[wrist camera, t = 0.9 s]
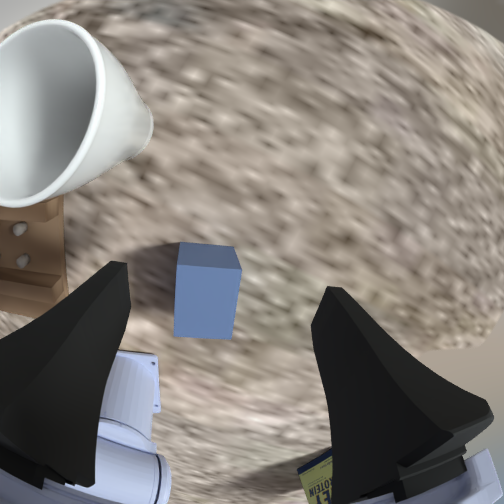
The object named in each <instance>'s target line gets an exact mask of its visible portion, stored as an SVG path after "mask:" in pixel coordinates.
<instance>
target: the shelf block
mask: <svg viewBox="0 0 504 504" xmlns="http://www.w3.org/2000/svg"><path fill="white" fill-rule="evenodd" d="M241 273H242V268H241V266H240V263H239V260H238V258H237V255H236V252H235V250H234V247H231V246H220V245H209V244H198V243H187V242H180V247H179V254H178V261H177V272H176V289H175V311H174V336H177V337H192V338H210V339H231V338H232V331H233V325H234V318H235V312H236V305H237V299H238V292H239V286H240V280H241Z"/></svg>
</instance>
